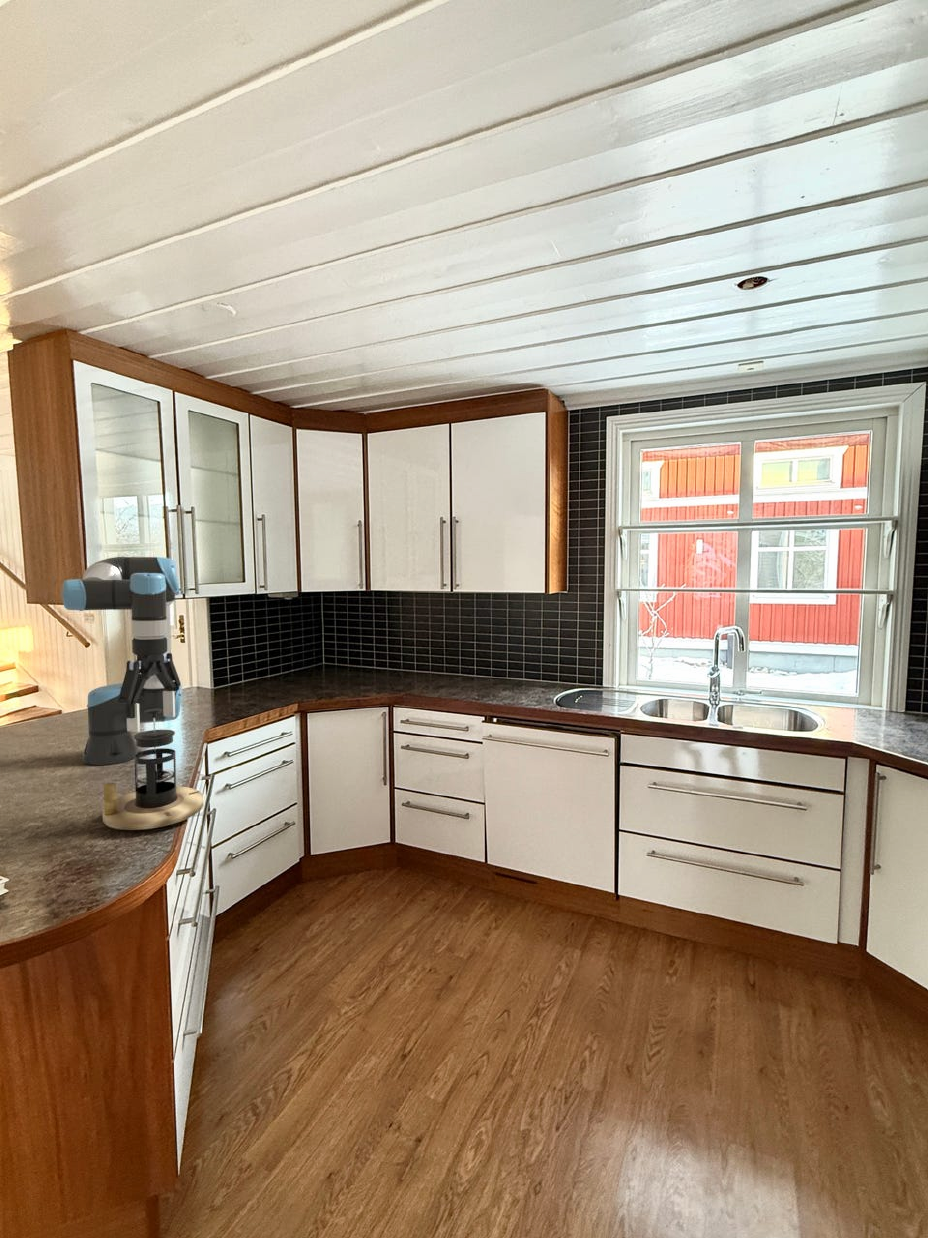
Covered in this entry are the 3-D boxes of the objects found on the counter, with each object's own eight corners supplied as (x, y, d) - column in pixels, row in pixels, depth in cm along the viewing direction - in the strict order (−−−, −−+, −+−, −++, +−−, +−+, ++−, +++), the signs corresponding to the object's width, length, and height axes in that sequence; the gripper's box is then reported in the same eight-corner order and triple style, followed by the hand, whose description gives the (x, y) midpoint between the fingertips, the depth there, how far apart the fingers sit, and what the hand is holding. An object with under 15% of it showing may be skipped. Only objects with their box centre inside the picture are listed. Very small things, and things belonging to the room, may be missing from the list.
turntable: (184, 787, 163) (183, 755, 162) (217, 811, 147) (216, 776, 147) (92, 809, 148) (90, 774, 147) (117, 838, 132) (116, 799, 131)
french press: (140, 795, 152) (137, 705, 150) (180, 791, 155) (178, 703, 153) (129, 813, 141) (126, 717, 139) (173, 808, 144) (170, 714, 142)
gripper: (167, 630, 157) (169, 710, 159) (97, 643, 132) (101, 737, 134) (194, 631, 156) (195, 711, 158) (128, 644, 131) (131, 739, 133)
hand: (152, 723), depth 146 cm, fingers open, 13 cm apart
